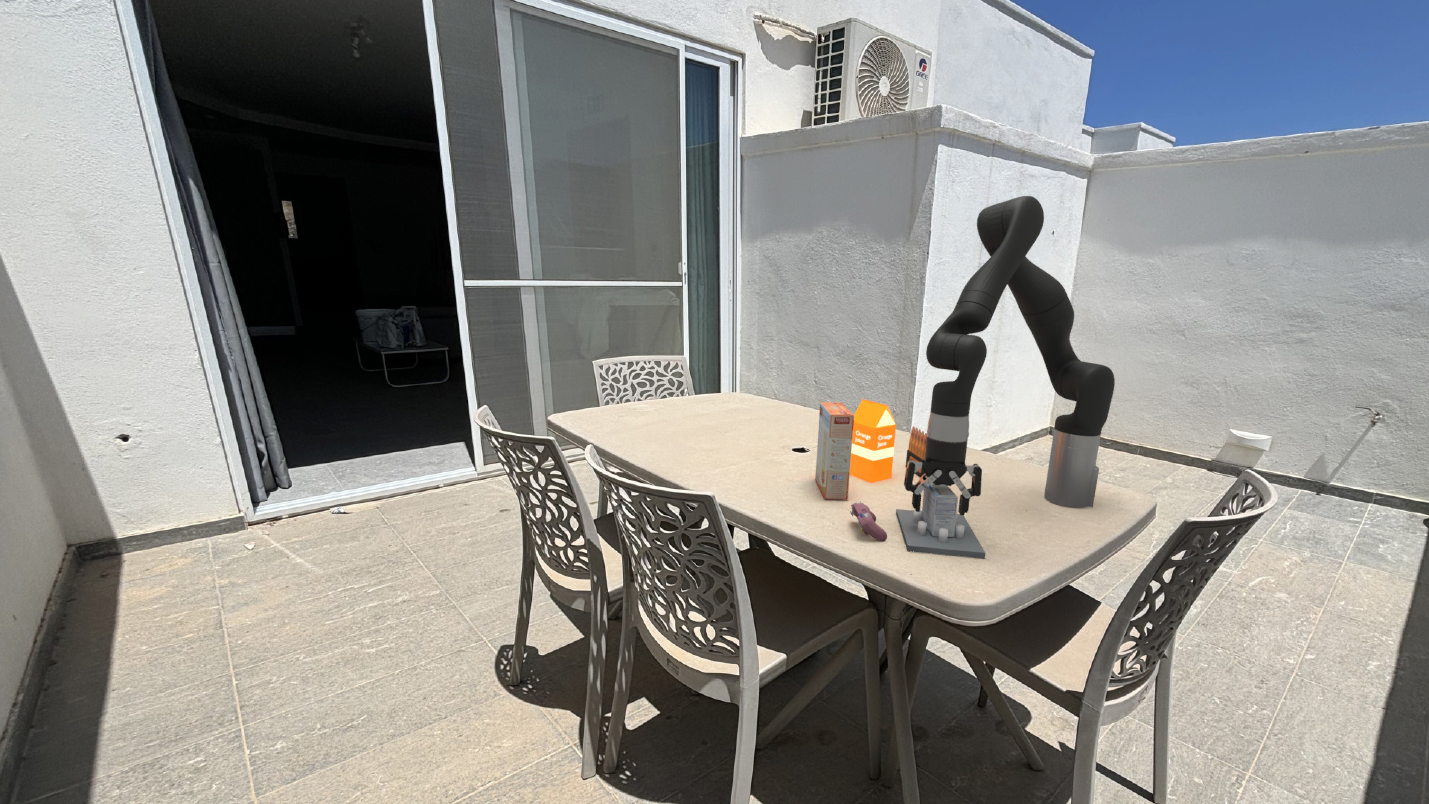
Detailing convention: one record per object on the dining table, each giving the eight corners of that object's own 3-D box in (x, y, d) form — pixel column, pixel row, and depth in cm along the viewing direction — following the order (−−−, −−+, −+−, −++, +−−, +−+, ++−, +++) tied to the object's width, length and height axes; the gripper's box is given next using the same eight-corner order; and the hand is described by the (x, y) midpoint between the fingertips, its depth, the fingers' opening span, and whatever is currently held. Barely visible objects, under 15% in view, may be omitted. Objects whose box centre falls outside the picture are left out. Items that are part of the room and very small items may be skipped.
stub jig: (962, 519, 125) (964, 504, 124) (984, 558, 107) (987, 541, 107) (895, 514, 127) (897, 498, 126) (907, 551, 110) (908, 533, 109)
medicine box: (954, 538, 113) (959, 496, 111) (931, 537, 113) (935, 495, 111) (941, 521, 121) (946, 482, 119) (920, 520, 121) (924, 481, 119)
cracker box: (849, 501, 134) (855, 414, 130) (823, 500, 134) (828, 414, 130) (837, 480, 148) (843, 401, 143) (814, 479, 148) (818, 400, 143)
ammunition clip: (905, 466, 159) (908, 425, 157) (911, 466, 160) (915, 425, 157) (923, 480, 149) (927, 435, 146) (930, 480, 149) (934, 435, 147)
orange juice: (871, 483, 146) (877, 407, 142) (846, 473, 153) (851, 400, 149) (892, 478, 150) (898, 403, 146) (866, 468, 158) (872, 397, 153)
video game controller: (857, 528, 123) (844, 500, 122) (876, 519, 123) (864, 491, 122) (868, 549, 114) (854, 520, 112) (890, 540, 113) (876, 510, 112)
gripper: (980, 432, 115) (971, 508, 118) (906, 428, 118) (900, 502, 121) (991, 443, 108) (981, 523, 111) (912, 438, 110) (905, 516, 114)
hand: (939, 512), depth 116 cm, fingers open, 8 cm apart
